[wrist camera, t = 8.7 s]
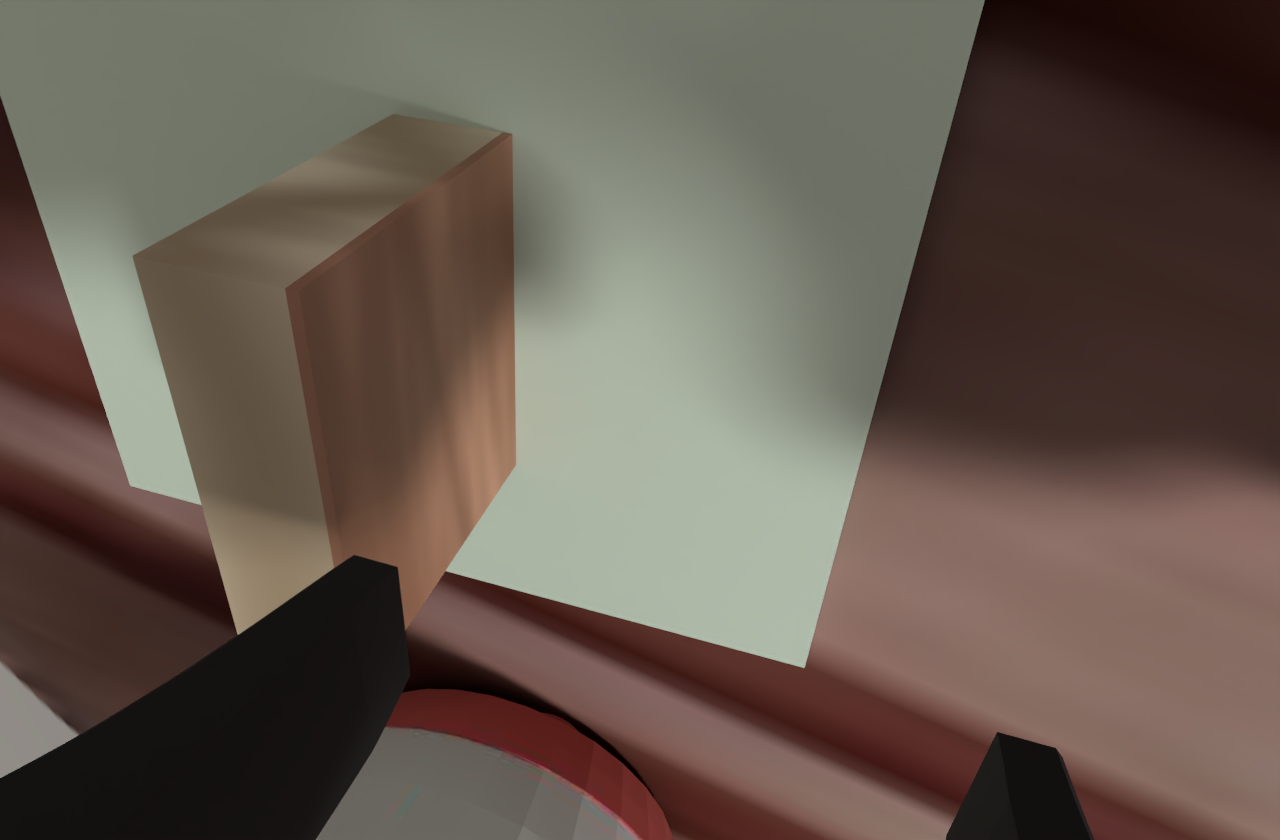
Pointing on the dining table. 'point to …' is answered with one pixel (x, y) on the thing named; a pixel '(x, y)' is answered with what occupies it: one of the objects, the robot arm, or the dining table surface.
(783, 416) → the mat
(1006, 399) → the dining table surface
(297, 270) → the tile
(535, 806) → the citrus juicer
